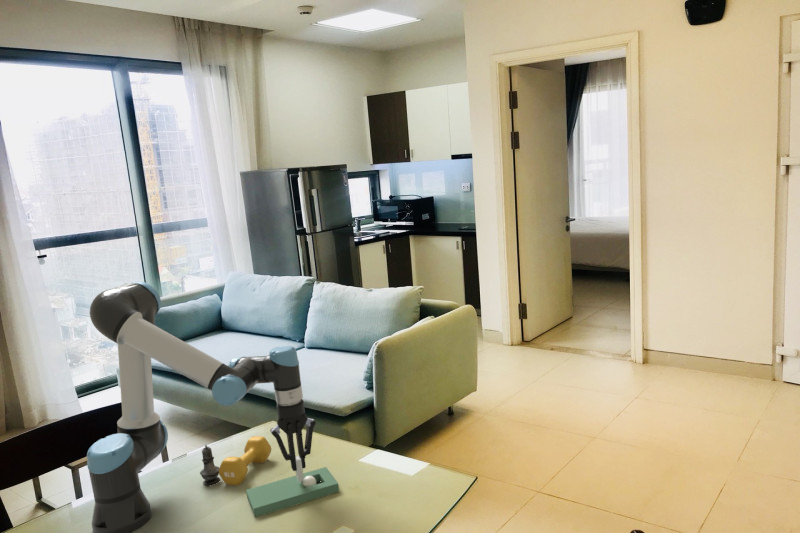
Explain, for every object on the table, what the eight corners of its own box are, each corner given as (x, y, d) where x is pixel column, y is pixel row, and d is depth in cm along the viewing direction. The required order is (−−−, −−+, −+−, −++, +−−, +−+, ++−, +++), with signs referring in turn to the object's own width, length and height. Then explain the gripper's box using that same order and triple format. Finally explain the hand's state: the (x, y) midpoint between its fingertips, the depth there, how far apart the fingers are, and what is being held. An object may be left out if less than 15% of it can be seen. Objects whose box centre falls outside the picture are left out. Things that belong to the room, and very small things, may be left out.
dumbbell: (243, 488, 184) (239, 462, 182) (217, 486, 186) (213, 461, 185) (275, 458, 201) (272, 435, 200) (251, 457, 204) (247, 434, 203)
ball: (308, 495, 176) (301, 484, 175) (305, 489, 179) (298, 479, 178) (320, 486, 177) (313, 475, 176) (316, 481, 181) (309, 470, 180)
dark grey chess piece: (202, 488, 186) (196, 450, 184) (200, 480, 191) (194, 443, 190) (222, 482, 188) (216, 445, 186) (220, 475, 194) (214, 438, 192)
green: (254, 517, 166) (253, 508, 166) (247, 497, 177) (245, 489, 177) (339, 491, 175) (338, 483, 175) (327, 474, 186) (326, 466, 186)
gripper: (269, 410, 167) (280, 491, 171) (315, 399, 172) (325, 478, 176) (264, 402, 174) (275, 480, 178) (308, 392, 179) (318, 468, 183)
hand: (300, 479), depth 177 cm, fingers closed
